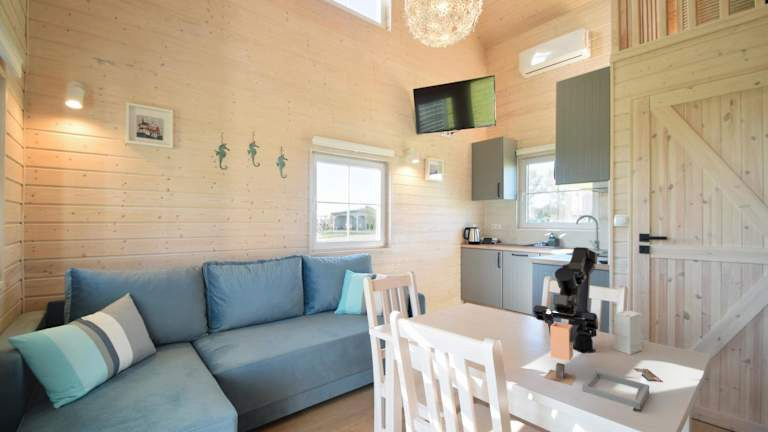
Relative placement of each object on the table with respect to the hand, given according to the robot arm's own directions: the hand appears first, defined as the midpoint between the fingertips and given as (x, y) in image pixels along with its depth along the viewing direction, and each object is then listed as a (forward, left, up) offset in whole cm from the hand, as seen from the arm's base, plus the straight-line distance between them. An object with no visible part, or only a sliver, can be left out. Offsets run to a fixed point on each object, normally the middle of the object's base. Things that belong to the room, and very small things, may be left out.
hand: (560, 339), depth 113 cm
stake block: (-1, +1, -13) cm, 14 cm away
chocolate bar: (+4, +31, -14) cm, 34 cm away
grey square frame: (+11, +10, -13) cm, 20 cm away
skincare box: (-14, +44, -14) cm, 48 cm away
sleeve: (-1, +1, -6) cm, 6 cm away
